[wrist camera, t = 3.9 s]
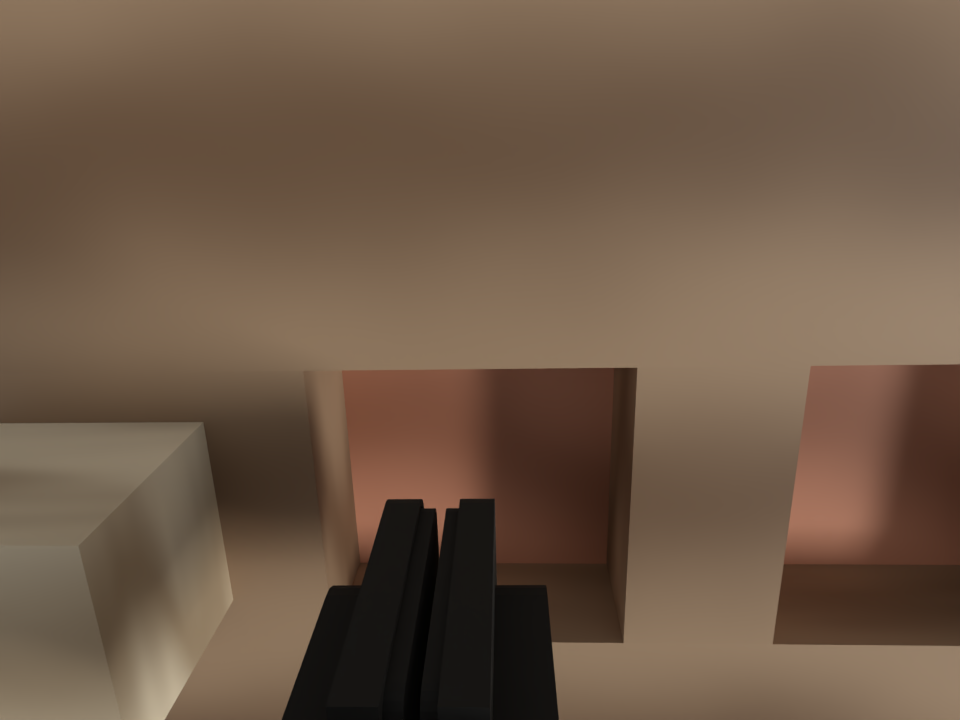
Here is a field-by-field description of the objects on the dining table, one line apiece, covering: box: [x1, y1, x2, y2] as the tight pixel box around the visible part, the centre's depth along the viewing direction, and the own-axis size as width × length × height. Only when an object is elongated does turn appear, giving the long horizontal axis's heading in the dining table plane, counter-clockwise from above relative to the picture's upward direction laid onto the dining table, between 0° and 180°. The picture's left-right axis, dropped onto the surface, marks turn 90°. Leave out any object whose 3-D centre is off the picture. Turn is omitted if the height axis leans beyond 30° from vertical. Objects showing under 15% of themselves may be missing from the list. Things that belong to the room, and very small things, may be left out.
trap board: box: [0, 0, 960, 720], centre depth 15 cm, size 20×34×3 cm, turn 91°
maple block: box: [0, 422, 233, 720], centre depth 12 cm, size 4×4×4 cm
